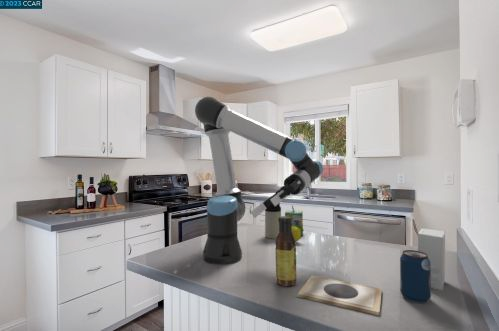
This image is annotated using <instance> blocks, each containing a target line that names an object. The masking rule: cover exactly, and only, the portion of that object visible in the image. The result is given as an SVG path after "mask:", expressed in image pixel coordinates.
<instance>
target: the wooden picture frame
mask: <svg viewBox="0 0 499 331" xmlns="http://www.w3.org/2000/svg"><path fill="white" fill-rule="evenodd" d="M382 294H383V288H380V287H375V286H369V285H364V284H358V283H352V282H349V281H343V280H342V281H341V280H337V279H332V278H327V277H323V276H316V275H310V277H309V279H308V280H307V281H306V283H304V285H303V286H302V287H301V289H300V290H299V292H297V297H298V298H302V299H307V300H309V301H315V302H320V303H323V304H329V305H332V306H336V307H342V308H346V309H351V310H353V311H354V310H355V311H357V312H362V313H365V314H371V315H375V316H380V315H381V314H380V311H381V303H382Z"/></svg>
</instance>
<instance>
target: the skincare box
mask: <svg viewBox="0 0 499 331" xmlns="http://www.w3.org/2000/svg"><path fill="white" fill-rule="evenodd" d="M417 251H420V252H423V253H426V254H427V255H428V258H429V260H430V272H431V289H434V290H439V291H443V290H444V286H445V273H446V272H445V269H446V268H445V266H446V265H445V264H446V261H445V260H446V231H445V230H439V229H438V230H437V229H431V228H430V229H429V228H423V227H422V228H421V229H420V230H419V231H418V233H417Z"/></svg>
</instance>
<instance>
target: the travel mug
mask: <svg viewBox="0 0 499 331" xmlns="http://www.w3.org/2000/svg"><path fill="white" fill-rule="evenodd" d="M280 204H281V202H280V203H279V204H278V205H276V206H274V205H273V204H272V205H270V206H269V207H267V211H266V210H264V230H265V231H264V236H265V238H268V239H270V238H272V239H273V238H274V239H275V238H277V236H278V234H279V232H280V231H279V217H282V207H281V206H280ZM274 239H273V240H274ZM275 240H276V239H275Z"/></svg>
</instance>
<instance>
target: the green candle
mask: <svg viewBox="0 0 499 331" xmlns="http://www.w3.org/2000/svg"><path fill="white" fill-rule="evenodd" d="M291 209H292V210H285V213H284V216H288V217H291V218H292V222H291V223H294V224H293V225H292V226H291V228H292V227H294V226H296V225H300V226H301V227H302V228H303V229H304V227H303V226H304V223H303V222H304V219H303V212H304V211H303V210H295V209H294V206H293V204H291ZM296 227H297V226H296ZM300 232H301V236H303V235H304V230H303V231H302V230H300Z"/></svg>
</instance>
